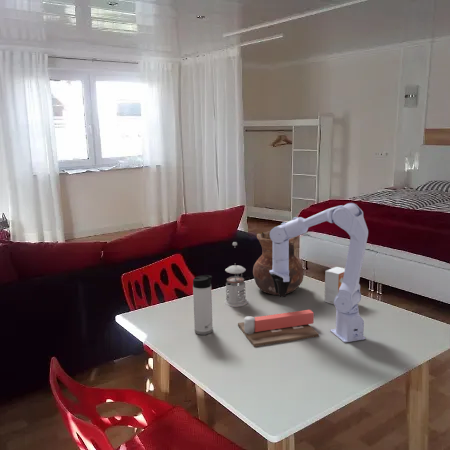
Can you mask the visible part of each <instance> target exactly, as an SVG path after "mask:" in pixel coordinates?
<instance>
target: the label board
mask: <svg viewBox="0 0 450 450" xmlns="http://www.w3.org/2000/svg"><path fill="white" fill-rule="evenodd" d="M237 326H238V327H239V329H240V330H241V331H242V333H243V334H244V336H245V337H246V338H247V340H248V341H249V342H250V343H251V345H252V346H253V347H254V348H255V347H259V346H261V347H262V346H267V345H273V344H275V345H276V344H280V343H286V342H291V341H292V342H293V341H299V340H305V339H312V338H318V337H320V334H319V332H318V331H316V330H315V329H314V328H313V327H312V326H311V324H307V325H300V326H293V327H286V328H280V329H273V330H266V331H259V332H254V333H246V332H245V331H244V321H243V322H241V321H240V322H238V323H237Z"/></svg>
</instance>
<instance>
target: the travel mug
mask: <svg viewBox="0 0 450 450" xmlns="http://www.w3.org/2000/svg"><path fill="white" fill-rule="evenodd" d="M212 279H213V276H212V275H209V274H204V275H203V274H202V275H197V276H195V277H194V278H193V279H192V291H193V292H192V296H193V316H194V317H193V321H194V333H196V334H197V335H201V336H204V335H210V334H211V333H213V331H214V329H213V328H214V327H213V300H212V299H213V298H212V297H213V296H212V295H213V294H212Z"/></svg>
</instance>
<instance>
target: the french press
mask: <svg viewBox="0 0 450 450" xmlns="http://www.w3.org/2000/svg"><path fill="white" fill-rule="evenodd" d="M232 246H234V247H236V246H238V242H237V241H233V242H232ZM246 270H247V269H246V268H245V267H244V266H242V265H236V264H234V265H229V266H228V267H227V268H225V270H224V271H225V272H226V273H229V274H233V275H234V276H229V277H227V278H226V282H225V289H226V290H225V292H226V293H225V296H226V297H225V300H224V301H223V304H224V305H225V306H227V307H234V308H235V307H238V308H239V307H244V306H246V305H248V304H249V300H247V299H246V282H245V278H244V277H243V273H245V272H246ZM240 274H241V275H240ZM239 275H240V276H239Z"/></svg>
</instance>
